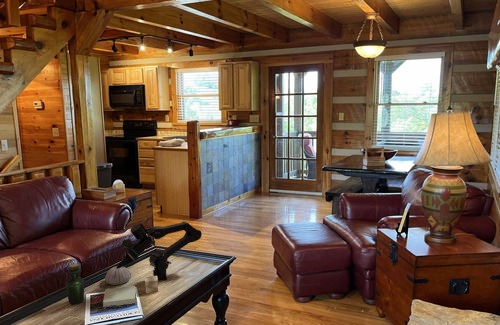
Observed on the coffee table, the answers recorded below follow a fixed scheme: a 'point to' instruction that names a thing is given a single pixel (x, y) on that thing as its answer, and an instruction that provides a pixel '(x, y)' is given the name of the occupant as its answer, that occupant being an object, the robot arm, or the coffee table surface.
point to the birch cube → (151, 284)
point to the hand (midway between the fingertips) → (117, 267)
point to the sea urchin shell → (117, 275)
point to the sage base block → (119, 296)
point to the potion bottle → (75, 285)
